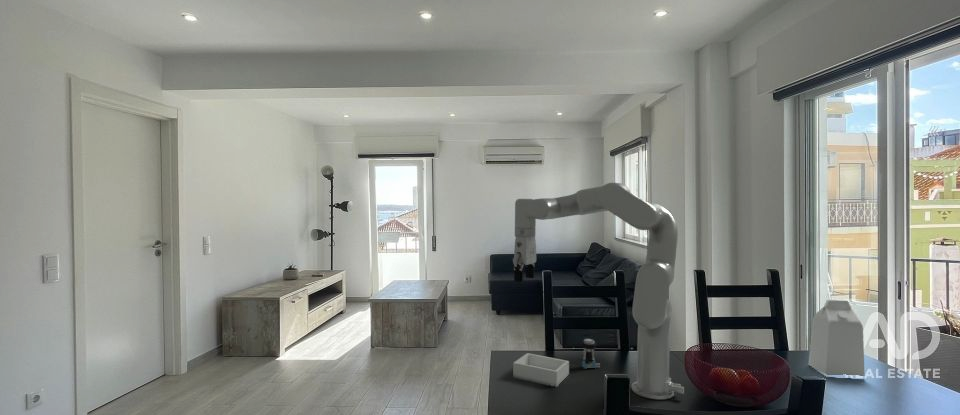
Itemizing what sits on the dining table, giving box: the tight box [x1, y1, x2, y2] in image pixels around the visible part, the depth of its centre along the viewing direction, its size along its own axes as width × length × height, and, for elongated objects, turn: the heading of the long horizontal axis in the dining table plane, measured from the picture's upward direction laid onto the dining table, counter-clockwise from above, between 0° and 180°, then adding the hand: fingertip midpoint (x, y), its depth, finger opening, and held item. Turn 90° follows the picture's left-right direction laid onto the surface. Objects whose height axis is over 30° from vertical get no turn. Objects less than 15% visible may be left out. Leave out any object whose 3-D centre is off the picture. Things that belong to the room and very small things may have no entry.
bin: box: [512, 352, 570, 388], centre depth 159 cm, size 16×12×5 cm
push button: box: [580, 338, 601, 369], centre depth 168 cm, size 7×5×10 cm
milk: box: [808, 298, 866, 376], centre depth 165 cm, size 12×12×26 cm
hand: (524, 279), depth 169 cm, fingers open, 9 cm apart
